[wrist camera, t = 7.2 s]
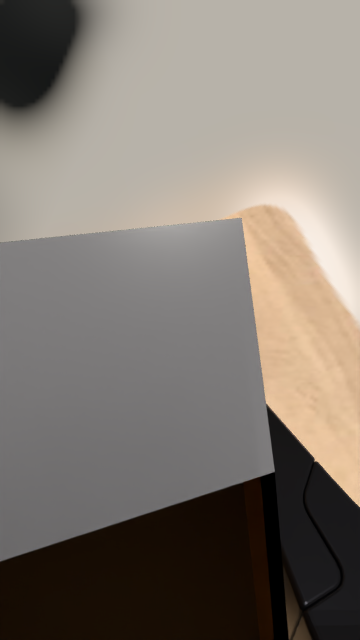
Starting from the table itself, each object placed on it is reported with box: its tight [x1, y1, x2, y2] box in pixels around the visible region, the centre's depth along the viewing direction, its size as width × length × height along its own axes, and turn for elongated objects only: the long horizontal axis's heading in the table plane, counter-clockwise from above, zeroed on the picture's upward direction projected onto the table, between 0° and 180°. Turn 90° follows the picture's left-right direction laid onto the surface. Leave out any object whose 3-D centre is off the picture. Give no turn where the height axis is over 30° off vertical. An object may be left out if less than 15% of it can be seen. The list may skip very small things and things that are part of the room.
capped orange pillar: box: [0, 218, 289, 640], centre depth 8 cm, size 5×5×12 cm
